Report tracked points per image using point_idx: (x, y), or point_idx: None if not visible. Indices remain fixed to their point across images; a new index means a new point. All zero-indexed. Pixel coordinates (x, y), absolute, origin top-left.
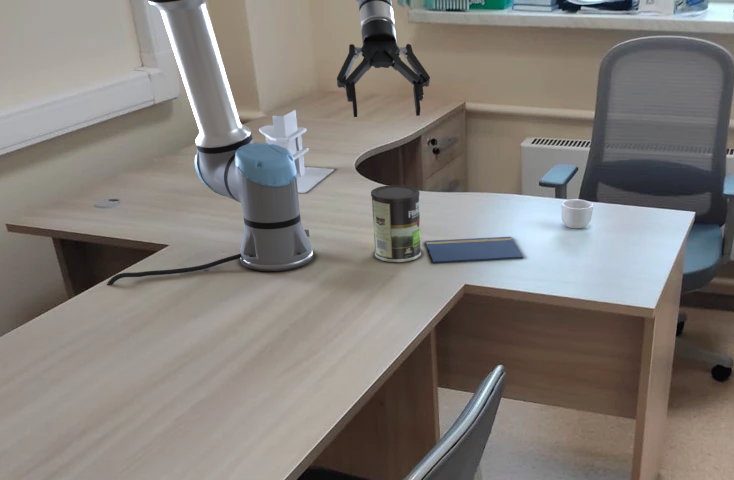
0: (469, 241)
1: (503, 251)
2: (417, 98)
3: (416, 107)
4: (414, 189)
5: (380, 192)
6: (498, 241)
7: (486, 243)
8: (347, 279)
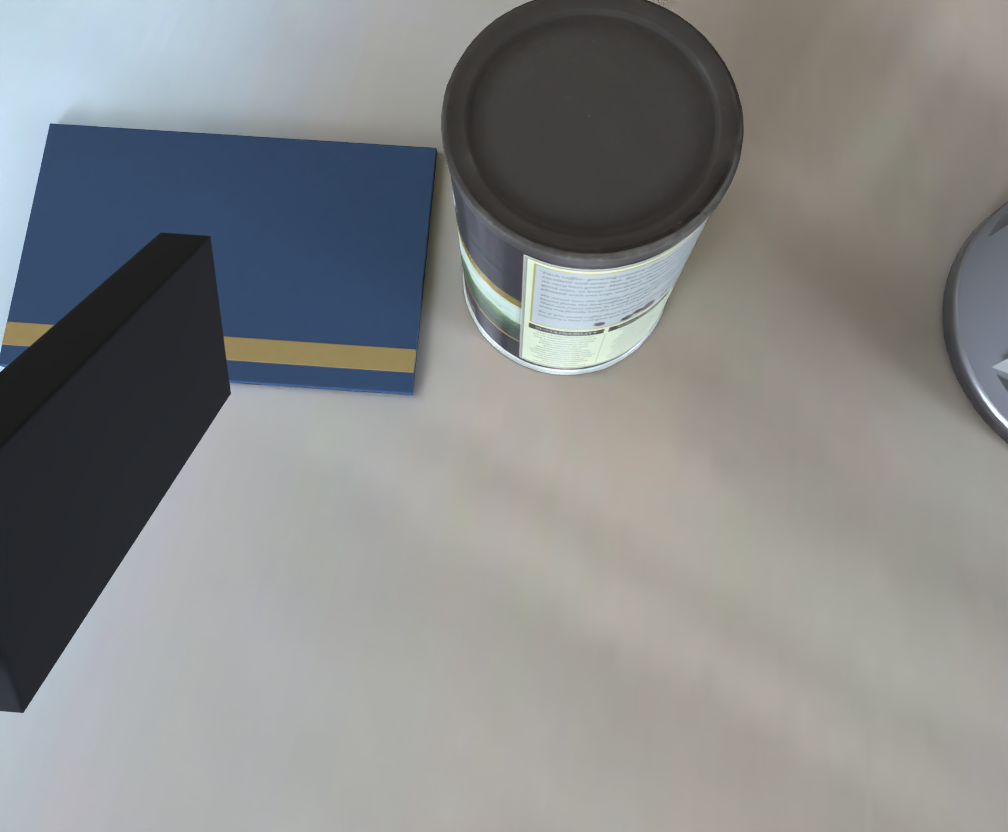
0: None
1: (107, 193)
2: (111, 303)
3: (199, 293)
4: (464, 143)
5: (682, 135)
6: None
7: None
8: (800, 68)
